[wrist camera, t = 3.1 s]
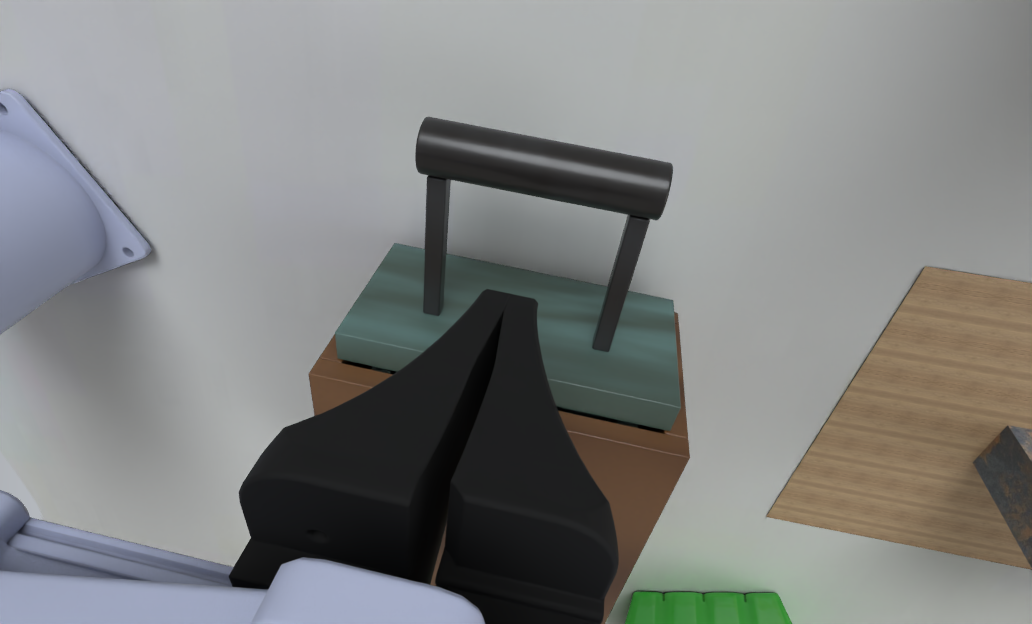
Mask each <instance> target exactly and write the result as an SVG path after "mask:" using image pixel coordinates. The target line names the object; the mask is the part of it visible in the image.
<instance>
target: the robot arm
mask: <svg viewBox="0 0 1032 624" xmlns="http://www.w3.org/2000/svg"><path fill="white" fill-rule="evenodd" d="M150 253H151V248H150V245H149V244H148V242H147V241H146V240H145V239H144V238H143V237H142V235H141V234H140V233H139V232H138V231H137V230H136V228H135V227H134V226H133V225H132V224H131V223H130V221H129V220H128V219H127V218H126V217H125V216H124V214H123V213H122V212H121V211H120V210H119V208H118V207H117V206H116V205H115V204H114V203H113V201H112V200H111V199H110V198H109V197H108V196H107V194H106V193H105V192H104V191H103V190H102V189H101V187H100V186H99V185H98V184H97V183H96V182H95V180H94V179H93V178H92V177H91V176H90V174H89V173H88V172H87V171H86V170H85V169H84V167H83V166H82V165H81V164H80V163H79V162H78V160H77V159H76V158H75V157H74V156H73V155H72V153H71V152H70V151H69V150H68V149H67V148H66V146H65V145H64V144H63V143H62V142H61V140H60V139H59V138H58V137H57V136H56V135H55V133H54V132H53V131H52V130H51V129H50V128H49V126H48V125H47V124H46V123H45V122H44V121H43V119H42V118H41V117H40V116H39V115H38V114H37V112H36V111H35V110H34V109H33V108H32V106H31V105H30V104H29V103H28V102H27V101H26V99H25V98H24V97H23V96H22V95H21V94H20V93H18V92H16V91H15V90H12V89H5V90H3V91H0V334H2V333H3V332H4V331H6V330H7V329H9V328H10V327H11V326H13V325H14V324H15V323H17V322H18V321H20V320H21V319H22V318H24V317H25V316H27V315H28V314H29V313H31V312H32V311H33V310H35V309H36V308H38V307H39V306H40V305H42V304H43V303H45V302H46V301H47V300H49V299H50V298H51V297H53V296H54V295H56V294H57V293H58V292H60V291H61V290H63V289H64V288H65V287H67V286H68V285H71V284H73V283H76V282H79V281H82V280H85V279H87V278H90V277H93V276H96V275H98V274H101V273H104V272H107V271H109V270H112V269H115V268H118V267H121V266H123V265H126V264H129V263H132V262H134V261H137V260H140V259H143V258H145V257H146V256H147V255H149V254H150ZM537 308H538V302H537V301H536V300H535V299H534V298H529V297H524V296H519V295H514V294H510V293H505V292H500V291H495V290H490V289H486V290H484V291H482V292H481V294H480V295H479V296H478V298H477V299H476V300H475V302H474V303H473V304H472V305H471V306H470V307H469V309H468V310H467V311H466V312H465V313H464V314H463V315H462V316H461V317H460V318H459V319H458V320H457V321H456V322H455V323H454V324H453V325H452V326H451V327H450V328H449V329H448V330H447V331H446V332H445V333H444V334H443V335H442V336H441V337H440V338H439V339H438V340H437V341H435V342H434V343H433V344H432V345H431V346H430V347H428V348H427V349H426V350H425V351H424V352H423V353H422V354H420V355H419V356H418V357H416V358H415V359H414V360H413V361H411V362H410V363H409V364H407V365H406V366H405V367H403V368H402V369H400V370H399V371H398V372H396V373H395V374H393V375H392V376H390V377H389V378H387V379H385V380H384V381H382V382H381V383H379V384H377V385H376V386H374V387H373V388H371V389H369V390H367V391H366V392H364V393H362V394H360V395H358V396H356V397H354V398H352V399H350V400H348V401H346V402H344V403H342V404H341V405H339V406H337V407H335V408H333V409H330V410H328V411H326V412H324V413H321V414H319V415H316V416H314V417H311V418H308V419H306V420H303V421H301V422H298V423H296V424H293V425H290V426H287V427H285V428H283V429H282V431H281V432H280V433H279V434H278V435H277V436H276V438H275V439H274V440H273V441H272V442H271V443H270V445H269V446H268V447H267V448H266V449H265V451H264V452H263V453H262V455H261V456H260V458H259V459H258V461H257V462H256V464H255V465H254V467H253V468H252V470H251V471H250V473H249V474H248V476H247V477H246V479H245V480H244V482H243V484H242V486H241V488H240V490H239V498H240V504H241V507H242V510H243V513H244V517H245V520H246V523H247V526H248V529H249V533H250V536H251V539H250V541H249V542H248V544H247V546H246V547H245V549H244V551H243V552H242V554H241V556H240V558H239V559H238V561H237V563H236V564H235V566H234V567H231V566H227V565H222V564H218V563H214V562H210V561H206V560H202V559H198V558H194V557H190V556H186V555H182V554H178V553H174V552H169V551H165V550H161V549H157V548H153V547H149V546H145V545H141V544H137V543H133V542H129V541H125V540H120V539H116V538H112V537H108V536H104V535H100V534H96V533H92V532H88V531H84V530H80V529H76V528H72V527H67V526H63V525H59V524H55V523H51V522H47V521H43V520H39V519H35V518H31V517H30V516H29V513H28V511H27V509H26V507H25V506H24V504H23V503H22V502H21V501H20V500H19V499H18V498H16V497H14V496H13V495H11V494H9V493H7V492H4V491H1V490H0V624H601V623H602V621H603V617H604V601H605V596H606V594H607V592H608V590H609V588H610V586H611V584H612V582H613V580H614V578H615V576H616V573H617V569H618V564H619V553H618V542H617V535H616V530H615V524H614V520H613V515H612V511H611V507H610V503H609V501H608V500H607V498H606V497H605V496H604V494H603V493H602V491H601V490H600V488H599V487H598V485H597V484H596V482H595V481H594V479H593V478H592V476H591V475H590V473H589V471H588V470H587V468H586V466H585V464H584V463H583V461H582V459H581V458H580V456H579V454H578V452H577V450H576V448H575V446H574V444H573V442H572V440H571V438H570V436H569V434H568V432H567V430H566V428H565V426H564V424H563V421H562V419H561V416H560V414H559V412H558V409H557V406H556V404H555V401H554V398H553V395H552V392H551V389H550V386H549V383H548V379H547V375H546V372H545V368H544V364H543V359H542V354H541V349H540V343H539V337H538V327H537ZM446 524H447V527H446ZM445 527H446V538H445V547H444V551H443V554H442V557H441V561H440V564H439V568H438V571H437V574H436V579H435V584H436V586H433V585H430V584H431V580H432V576H433V573H434V569H435V565H436V561H437V557H438V554H439V550H440V546H441V542H442V538H443V535H444V531H445Z"/></svg>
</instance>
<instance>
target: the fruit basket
mask: <svg viewBox="0 0 1032 624" xmlns="http://www.w3.org/2000/svg"><path fill="white" fill-rule="evenodd" d="M625 624H792V623H791V621H790V619H789V616H788V614H787V612H786V610H785V608H784V606H783V603H782V601H781V599H780V597H779V595H778V594H776V593H748V594H746V595H743V594H741V593H728V592H711V593H705V594H701V593H696V592H669V593H665V594H663V593H659V592H634V593H633V596H632V600H631V604H630V607H629V611H628V614H627V618H626V621H625Z"/></svg>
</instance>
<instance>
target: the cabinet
mask: <svg viewBox="0 0 1032 624" xmlns="http://www.w3.org/2000/svg"><path fill="white" fill-rule="evenodd" d="M674 318H675V331H676V345H677V359H678V373H679V387H680V401H681V409H680V411H679V413H678V415H677V417H676V419H675V422H674V424H673V426H672V428H671V430H670V431H666V430H662V429H657V428H653V427H648V426H643V425H639V428H636V427H631V426H626V425H622V424H617V423H613V422H608V421H604V420H599V419H594V418H590V417H585V416H581V415H576V414H572V413H567V412H562V411H558V412H559V414H560V416H561V419H562V421H563V424H564V426H565V428H566V430H567V432H568V434H569V436H570V438H571V440H572V442H573V444H574V446H575V448H576V450H577V452H578V454H579V456H580V458H581V459H582V461H583V463H584V464H585V466H586V468H587V470H588V471H589V473H590V475H591V476H592V478H593V479H594V481H595V482H596V484H597V485H598V487H599V488H600V490H601V491H602V493H603V494H604V496H605V497H606V498H607V500H608V501H609V503H610V507H611V511H612V515H613V520H614V524H615V530H616V535H617V542H618V553H619V564H618V569H617V573H616V576H615V578H614V580H613V582H612V584H611V586H610V588H609V590H608V592H607V594H606V596H605V601H604V617H603V621H602V623H601V624H605V622H606V620H607V618H608V616H609V614H610V612H611V610H612V608H613V606H614V604H615V602H616V600H617V598H618V596H619V595H620V593H621V591H622V589H623V587H624V585H625V583H626V581H627V579H628V577H629V575H630V573H631V571H632V569H633V567H634V565H635V563H636V561H637V559H638V558H639V556H640V554H641V552H642V550H643V548H644V546H645V544H646V542H647V540H648V538H649V536H650V534H651V532H652V530H653V528H654V526H655V524H656V523H657V521H658V519H659V517H660V515H661V513H662V511H663V509H664V507H665V505H666V503H667V501H668V499H669V497H670V495H671V493H672V491H673V489H674V487H675V486H676V484H677V482H678V480H679V478H680V476H681V474H682V472H683V470H684V468H685V466H686V464H687V462H688V460H689V458H690V455H689V443H688V432H687V420H686V407H685V395H684V382H683V370H682V357H681V345H680V332H679V322H678V314H677V313H674ZM371 368H372V366H369V365H364V364H360V363H355V362H351V361H346V360H341V359H338V358H337V349H336V339H335V335H334V336H333V338H332V339H331V341H330V342H329V344H328V345H327V347H326V348H325V350H324V351H323V353H322V354H321V356H320V357H319V359H318V360H317V362H316V363H315V365H314V366H313V368H312V369H311V371H310V372H309V380H310V387H311V394H312V401H313V408H314V415H315V416H316V415H319V414H321V413H324V412H326V411H328V410H330V409H333V408H335V407H337V406H339V405H341V404H342V403H344V402H346V401H348V400H350V399H352V398H354V397H356V396H358V395H360V394H362V393H364V392H366V391H367V390H369V389H371V388H373V387H374V386H376V385H377V384H379V383H381V382H382V381H384V380H385V379H387V378H389V377H390V376H392V375H393V374H389V373H384V372H380V371H375V370H371ZM446 527H447V524H446ZM446 527H445V531H444V535H443V538H442V542H441V546H440V550H439V554H438V557H437V561H436V565H435V569H434V573H433V576H432V580H431V584H430V585H433V586H436V584H435V579H436V574H437V571H438V568H439V564H440V561H441V557H442V554H443V551H444V547H445V538H446Z"/></svg>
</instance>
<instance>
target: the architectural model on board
mask: <svg viewBox="0 0 1032 624" xmlns="http://www.w3.org/2000/svg"><path fill="white" fill-rule="evenodd" d="M766 517H770V518H775V519H780V520H785V521H790V522H795V523H800V524H805V525H810V526H815V527H820V528H825V529H830V530H835V531H840V532H845V533H850V534H855V535H860V536H865V537H870V538H875V539H880V540H885V541H890V542H895V543H900V544H905V545H910V546H916V547H921V548H926V549H931V550H936V551H941V552H946V553H951V554H956V555H961V556H966V557H971V558H976V559H981V560H986V561H991V562H996V563H1001V564H1006V565H1011V566H1016V567H1021V568H1026V569H1031V570H1032V283H1027V282H1020V281H1014V280H1008V279H1001V278H995V277H989V276H982V275H976V274H970V273H963V272H957V271H951V270H944V269H938V268H932V267H925V268H924V269H923V271H922V273H921V274H920V276H919V277H918V279H917V280H916V282H915V284H914V285H913V287H912V288H911V290H910V291H909V293H908V295H907V296H906V298H905V299H904V301H903V302H902V304H901V306H900V307H899V309H898V310H897V312H896V313H895V315H894V317H893V318H892V320H891V321H890V323H889V324H888V326H887V328H886V329H885V331H884V332H883V334H882V335H881V337H880V339H879V340H878V342H877V343H876V345H875V346H874V348H873V350H872V351H871V353H870V354H869V356H868V357H867V359H866V361H865V362H864V364H863V365H862V367H861V368H860V370H859V372H858V373H857V375H856V376H855V378H854V379H853V381H852V383H851V384H850V386H849V387H848V389H847V390H846V392H845V394H844V395H843V397H842V398H841V400H840V401H839V403H838V405H837V406H836V408H835V409H834V411H833V412H832V414H831V416H830V417H829V419H828V420H827V422H826V423H825V425H824V427H823V428H822V430H821V431H820V433H819V434H818V436H817V438H816V439H815V441H814V442H813V444H812V445H811V447H810V449H809V450H808V452H807V453H806V455H805V456H804V458H803V460H802V461H801V463H800V464H799V466H798V467H797V469H796V471H795V472H794V474H793V475H792V477H791V478H790V480H789V482H788V483H787V485H786V486H785V488H784V489H783V491H782V493H781V494H780V496H779V497H778V499H777V501H776V502H775V504H774V505H773V507H772V508H771V510H770V512H769V513H768V515H767V516H766Z"/></svg>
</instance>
